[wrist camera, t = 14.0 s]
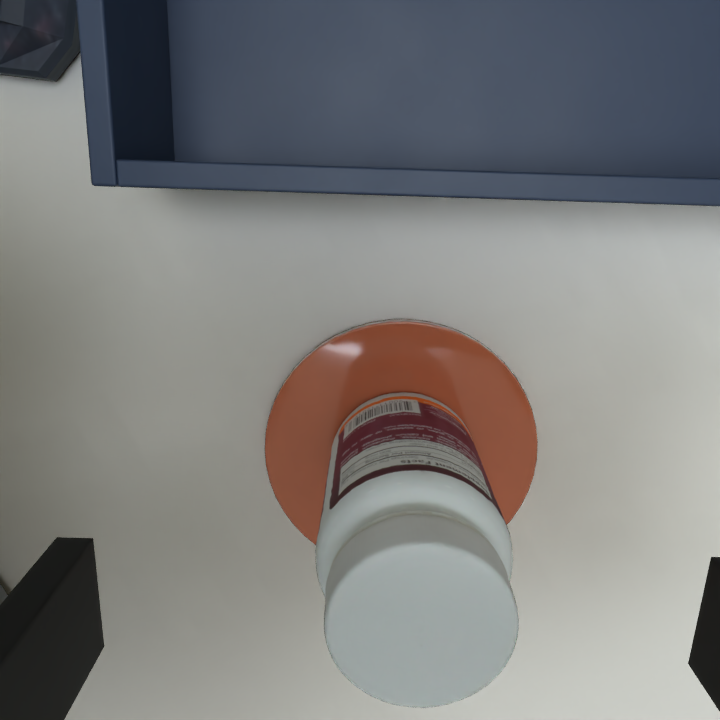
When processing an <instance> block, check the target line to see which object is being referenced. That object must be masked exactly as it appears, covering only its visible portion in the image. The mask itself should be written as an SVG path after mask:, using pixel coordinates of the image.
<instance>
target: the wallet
mask: <svg viewBox="0 0 720 720" xmlns="http://www.w3.org/2000/svg"><path fill="white" fill-rule="evenodd" d="M79 52H80V40H79V29H78V17H77V5H76V0H0V75H9V76H17V77H25V78H33V79H41V80H49V81H57V79H58V78H59V77H60V76H61V74H62V73H63V72H64V71H65V69H66V68H67V67H68V65H69V64H70V63H71V62H72V60H73V59H74V58H75V57H76V55H77V54H78V53H79Z"/></svg>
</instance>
